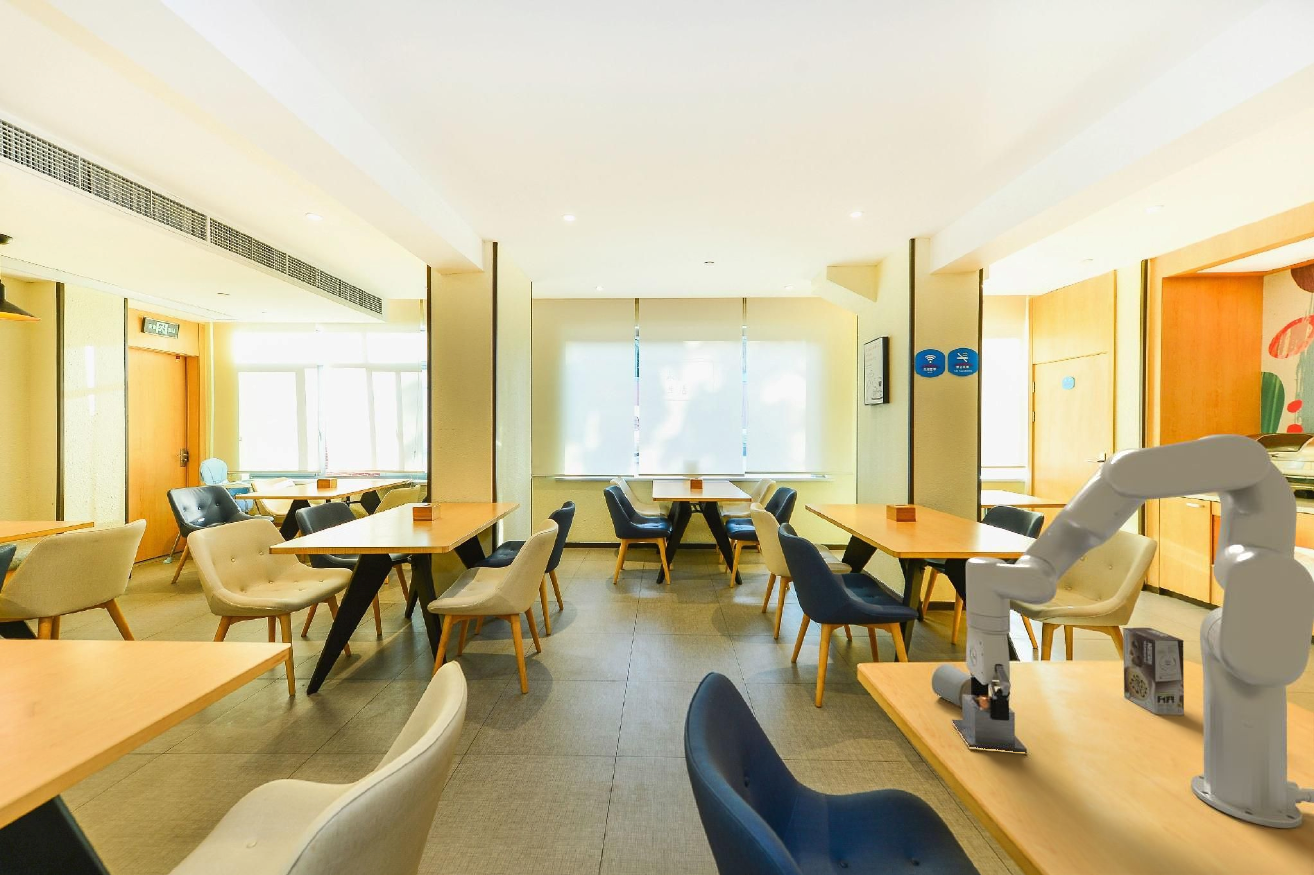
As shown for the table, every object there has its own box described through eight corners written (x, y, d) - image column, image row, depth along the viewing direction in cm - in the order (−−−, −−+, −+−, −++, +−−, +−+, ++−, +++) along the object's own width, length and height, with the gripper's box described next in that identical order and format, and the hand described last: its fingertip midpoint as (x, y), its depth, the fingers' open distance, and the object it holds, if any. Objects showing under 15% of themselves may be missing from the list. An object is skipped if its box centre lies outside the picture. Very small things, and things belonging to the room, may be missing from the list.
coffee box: (1186, 715, 124) (1185, 640, 124) (1155, 715, 124) (1155, 640, 124) (1150, 697, 133) (1150, 626, 133) (1122, 696, 133) (1121, 626, 133)
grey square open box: (999, 726, 117) (999, 697, 117) (1014, 744, 110) (1014, 713, 110) (962, 723, 118) (962, 694, 118) (975, 741, 111) (975, 710, 111)
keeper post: (1004, 728, 118) (1004, 689, 118) (1026, 754, 108) (1026, 711, 108) (952, 724, 120) (952, 685, 120) (969, 749, 110) (969, 707, 110)
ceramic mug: (961, 714, 124) (961, 678, 124) (930, 698, 132) (930, 664, 132) (996, 706, 128) (996, 672, 128) (964, 692, 136) (964, 659, 136)
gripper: (953, 608, 123) (954, 688, 123) (984, 634, 106) (985, 727, 106) (991, 609, 122) (992, 690, 122) (1028, 636, 105) (1030, 730, 105)
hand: (989, 708), depth 114 cm, fingers open, 9 cm apart
